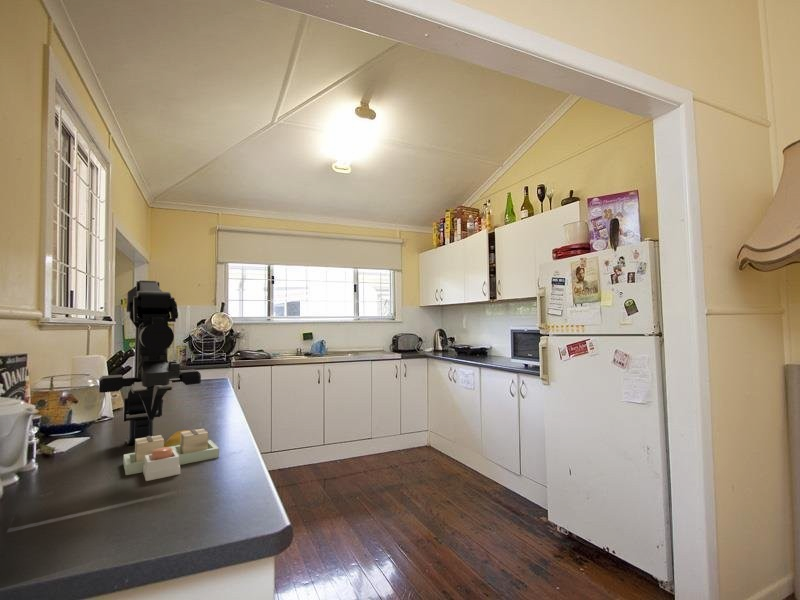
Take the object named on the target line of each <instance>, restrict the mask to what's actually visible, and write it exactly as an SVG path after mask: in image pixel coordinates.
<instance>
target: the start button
mask: <svg viewBox="0 0 800 600" xmlns="http://www.w3.org/2000/svg"><path fill="white" fill-rule="evenodd" d="M169 457H172V448H171V447H163V448H158V449H155V450H153V451H152V461H153V460H158V459H164V458H169Z"/></svg>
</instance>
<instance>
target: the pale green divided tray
mask: <svg viewBox="0 0 800 600" xmlns="http://www.w3.org/2000/svg"><path fill="white" fill-rule="evenodd" d="M171 448H172V451H173V450H175V451H176V452H177V454H178V455H179V465H180V466H181V465H185V464H190V463H195V462H196V463H197V462H201V461H207V460H212V459H216V458H220V447H218V445H217V444H216V443H214V442H213V440H211V439H208V449H205V450H200V451H194V452H189V453H183V454H180V445H177V446H171ZM122 461H123V463H122V464H123V468H124V474H125V476H129V475H135V474H139V473H143V465H145V461H139V462H135V452H130V453H125V454H123V460H122Z"/></svg>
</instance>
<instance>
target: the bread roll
mask: <svg viewBox="0 0 800 600" xmlns="http://www.w3.org/2000/svg"><path fill="white" fill-rule="evenodd" d="M190 430H191V429H189V430H188V429H183V430H179V431H176V432H175V433H173V434H172V435H170V436H169V438H168V439H167V440H166V441H164V447H171V446H177V445H180V433H181V432H185V431H190Z"/></svg>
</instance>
